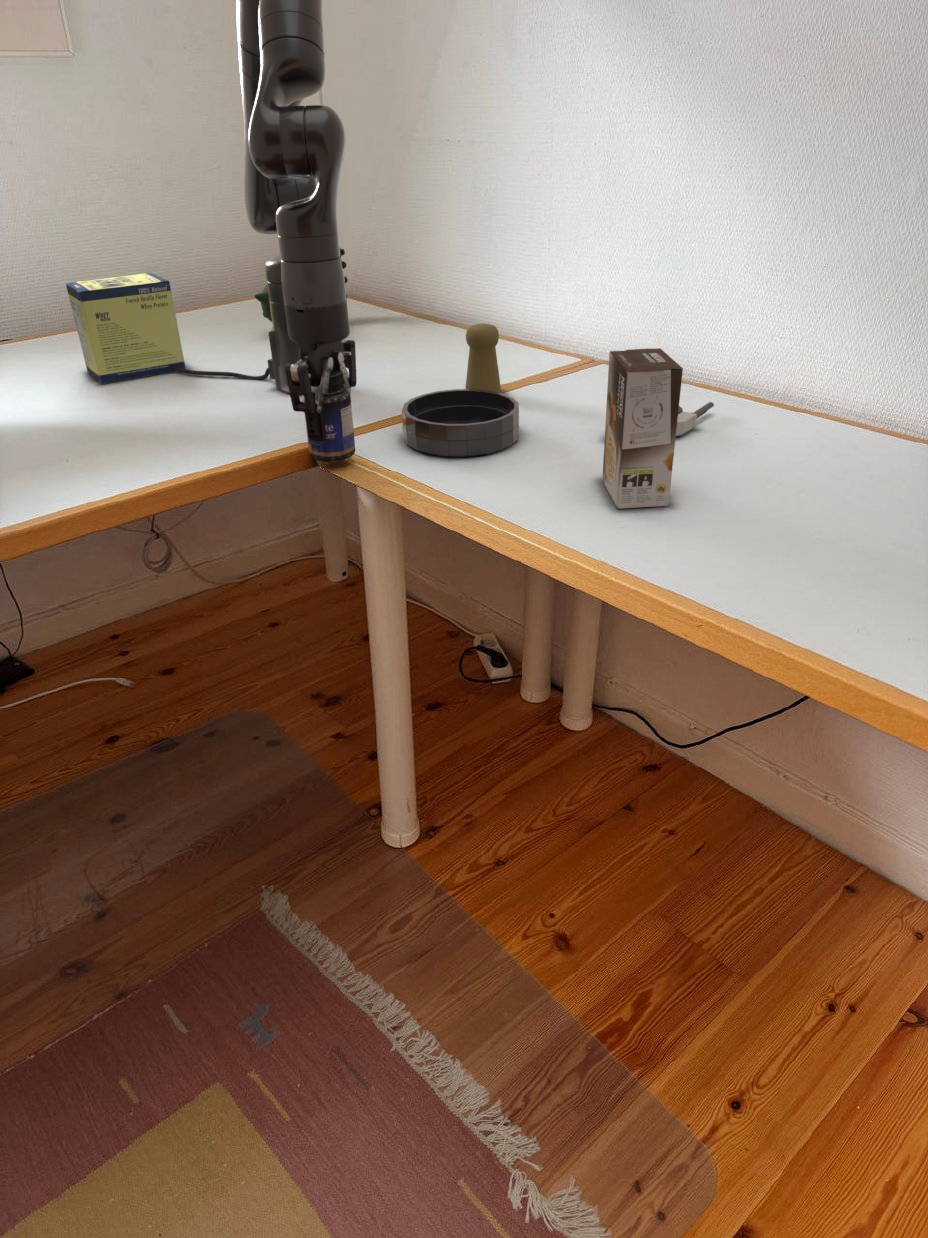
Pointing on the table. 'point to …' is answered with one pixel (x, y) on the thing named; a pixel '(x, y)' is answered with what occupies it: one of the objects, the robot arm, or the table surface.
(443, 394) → the pan
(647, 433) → the coffee box
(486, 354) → the olive brown knobbed cylinder
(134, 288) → the protein box
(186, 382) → the table surface
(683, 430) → the walkie-talkie
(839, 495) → the table surface
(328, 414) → the pill bottle
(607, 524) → the table surface
